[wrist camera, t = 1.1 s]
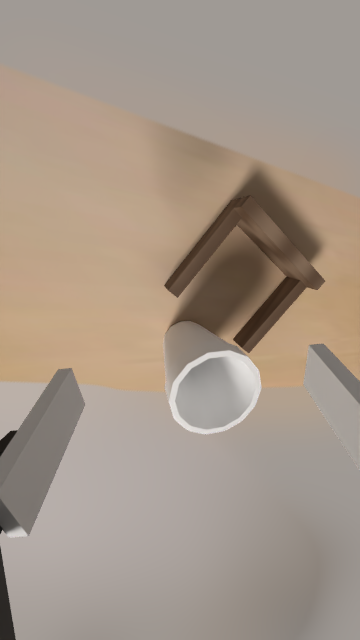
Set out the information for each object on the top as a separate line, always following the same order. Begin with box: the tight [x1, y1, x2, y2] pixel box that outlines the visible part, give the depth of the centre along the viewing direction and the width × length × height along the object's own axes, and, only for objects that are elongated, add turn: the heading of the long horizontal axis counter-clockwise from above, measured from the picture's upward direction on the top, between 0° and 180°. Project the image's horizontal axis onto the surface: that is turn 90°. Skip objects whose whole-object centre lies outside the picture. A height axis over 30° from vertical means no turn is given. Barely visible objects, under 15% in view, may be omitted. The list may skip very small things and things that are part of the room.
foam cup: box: [163, 321, 261, 435], centre depth 31 cm, size 10×9×13 cm
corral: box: [164, 195, 325, 353], centre depth 33 cm, size 15×14×5 cm
